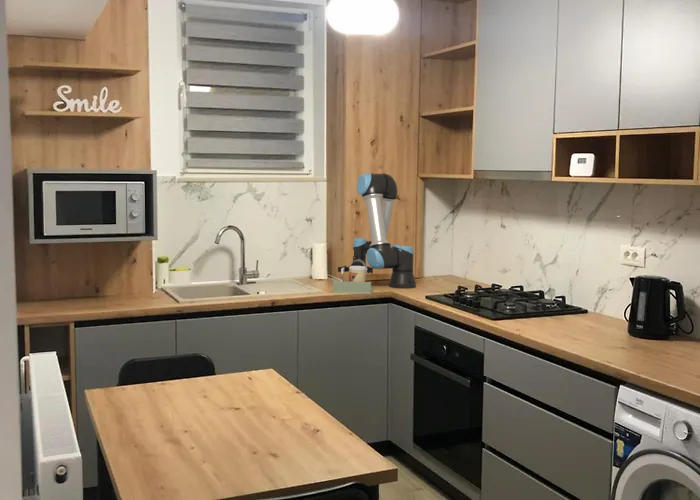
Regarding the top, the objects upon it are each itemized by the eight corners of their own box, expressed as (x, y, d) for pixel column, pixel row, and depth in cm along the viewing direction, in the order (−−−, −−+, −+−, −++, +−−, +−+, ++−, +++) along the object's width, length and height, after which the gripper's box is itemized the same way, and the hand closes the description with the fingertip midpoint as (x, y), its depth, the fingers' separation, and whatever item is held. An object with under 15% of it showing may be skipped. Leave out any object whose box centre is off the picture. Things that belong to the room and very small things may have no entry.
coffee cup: (345, 288, 404) (345, 266, 403) (360, 287, 408) (361, 265, 407) (353, 290, 395) (354, 268, 394) (368, 289, 400) (369, 267, 399)
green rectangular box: (373, 289, 407) (373, 278, 406) (370, 293, 393) (370, 282, 392) (336, 289, 409) (336, 278, 408) (332, 292, 395) (333, 281, 395)
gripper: (378, 274, 425) (376, 279, 404) (336, 273, 428) (331, 278, 406) (379, 261, 424) (376, 265, 403) (336, 259, 427) (331, 264, 406)
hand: (353, 271), depth 405 cm, fingers open, 12 cm apart
